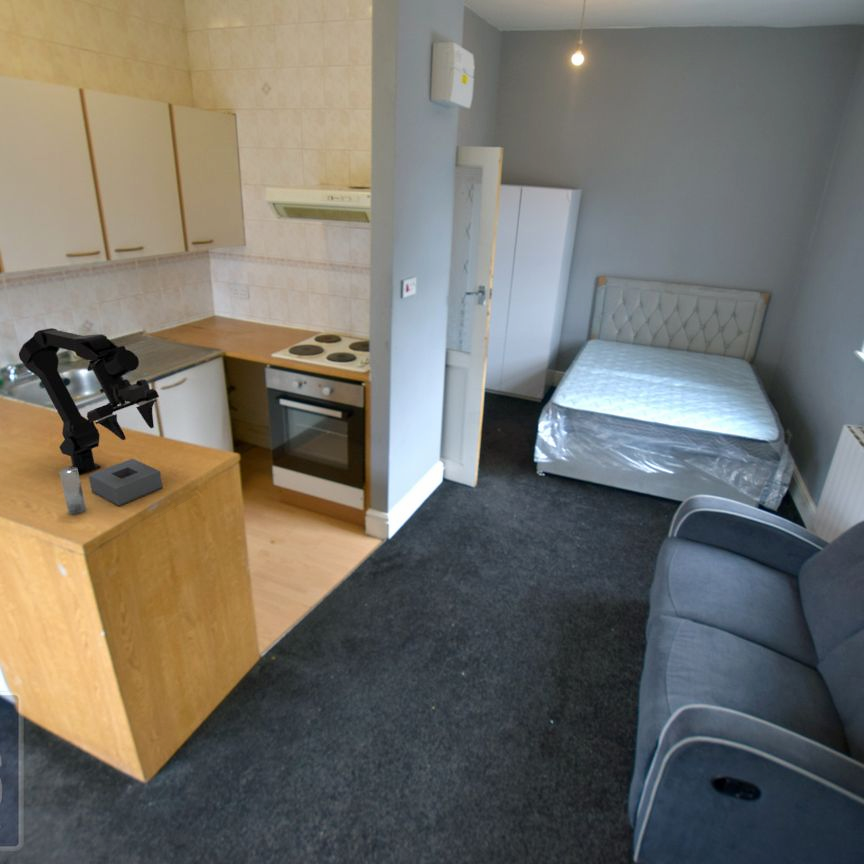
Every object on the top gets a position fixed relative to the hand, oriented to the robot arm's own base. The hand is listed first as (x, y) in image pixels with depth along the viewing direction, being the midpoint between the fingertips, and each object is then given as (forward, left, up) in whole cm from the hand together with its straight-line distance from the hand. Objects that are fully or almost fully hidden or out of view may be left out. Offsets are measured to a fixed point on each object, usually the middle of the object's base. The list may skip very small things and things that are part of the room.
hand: (138, 433), depth 157 cm
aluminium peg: (-3, -18, -17) cm, 25 cm away
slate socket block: (-3, -4, -17) cm, 18 cm away
